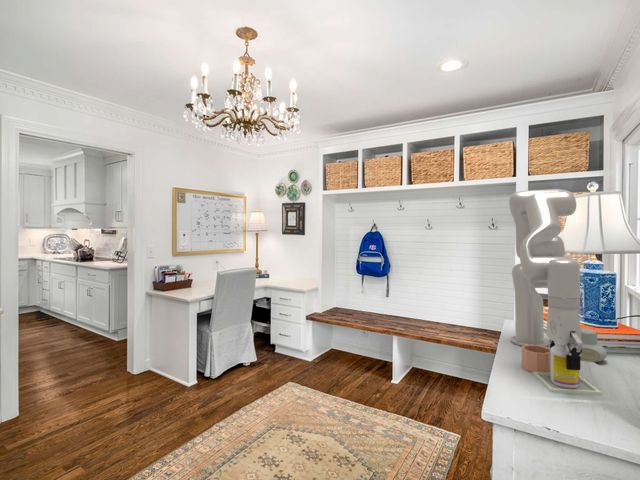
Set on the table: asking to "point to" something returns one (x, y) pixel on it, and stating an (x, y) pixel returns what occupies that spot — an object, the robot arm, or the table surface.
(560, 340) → the robot arm
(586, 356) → the air freshener
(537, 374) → the tray
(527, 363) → the pot
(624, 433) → the table surface
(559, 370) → the supplement bottle
